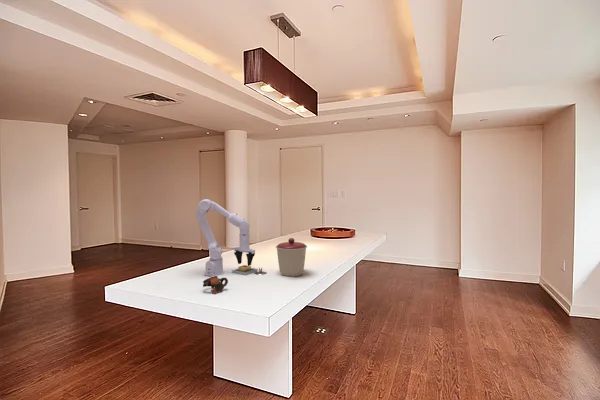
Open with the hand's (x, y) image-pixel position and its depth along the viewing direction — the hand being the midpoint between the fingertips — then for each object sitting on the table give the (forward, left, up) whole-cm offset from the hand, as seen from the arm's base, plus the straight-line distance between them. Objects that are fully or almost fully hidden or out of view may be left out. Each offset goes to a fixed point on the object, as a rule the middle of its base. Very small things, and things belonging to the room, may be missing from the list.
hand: (244, 264), depth 191 cm
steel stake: (+3, -10, -5) cm, 11 cm away
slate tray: (0, 0, -5) cm, 5 cm away
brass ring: (0, 0, -4) cm, 4 cm away
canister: (+12, -26, -5) cm, 29 cm away
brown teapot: (-32, -10, -5) cm, 34 cm away
